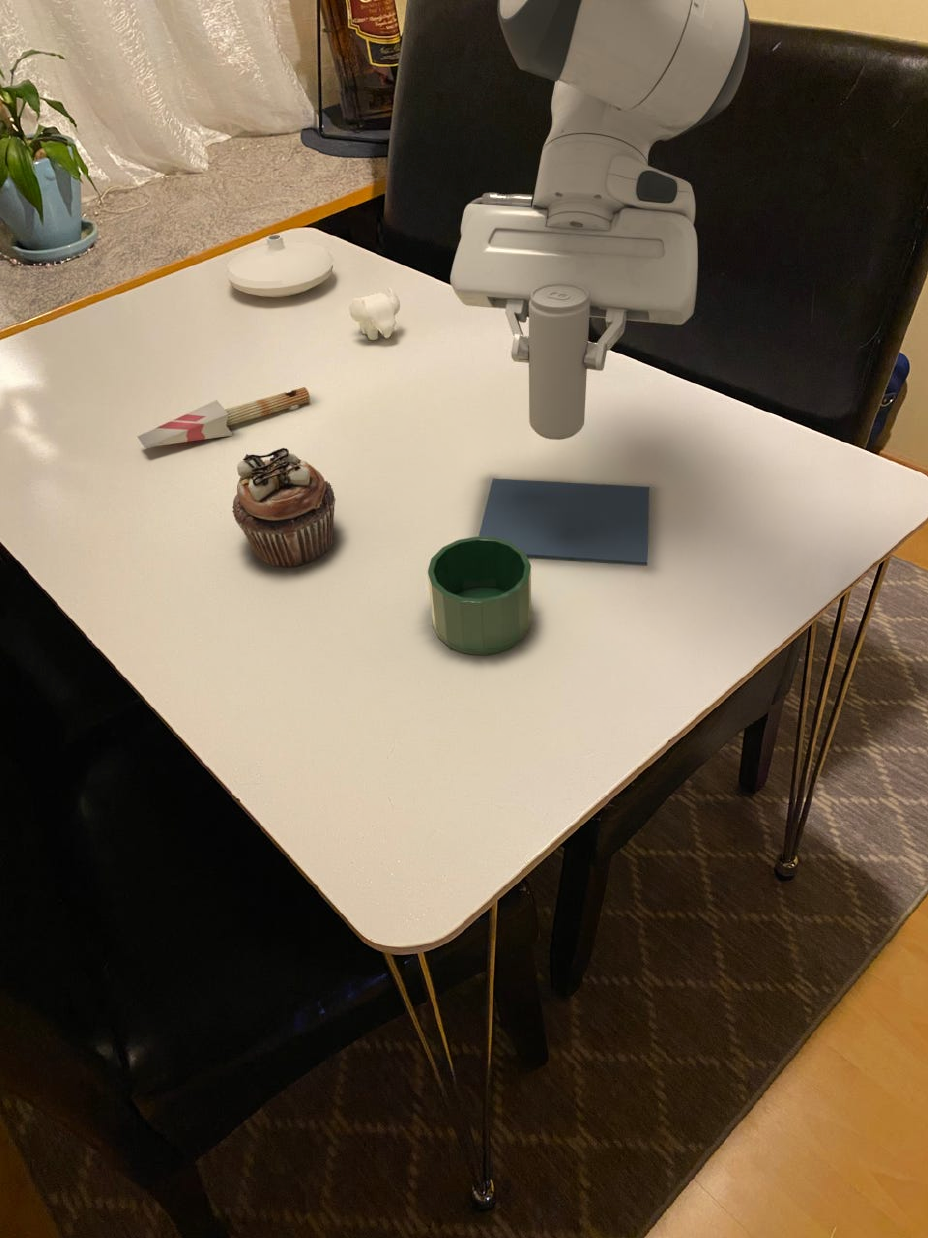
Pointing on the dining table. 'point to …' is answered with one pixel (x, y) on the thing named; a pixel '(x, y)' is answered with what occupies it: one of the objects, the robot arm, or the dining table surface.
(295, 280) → the vase
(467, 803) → the dining table surface
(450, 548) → the green round pot
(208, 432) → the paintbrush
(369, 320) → the elephant figurine
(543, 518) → the mat
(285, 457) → the cupcake
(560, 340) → the beverage can
